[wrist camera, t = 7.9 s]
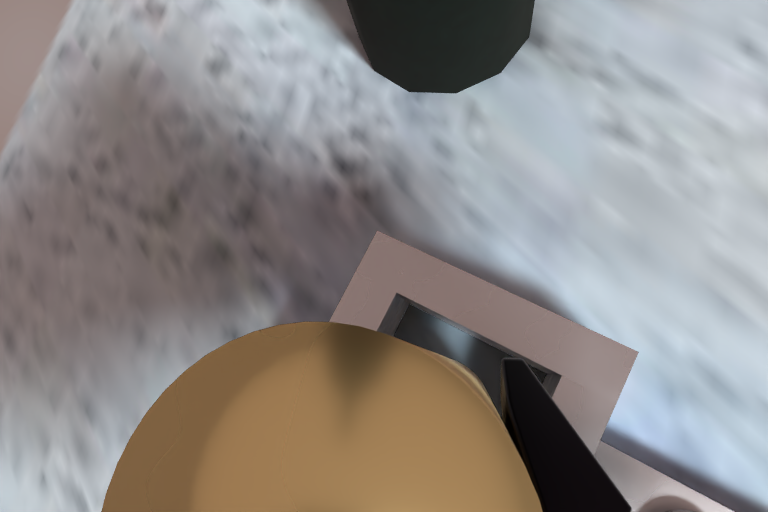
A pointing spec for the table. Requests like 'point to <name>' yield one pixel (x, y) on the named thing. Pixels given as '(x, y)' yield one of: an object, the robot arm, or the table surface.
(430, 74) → the wine bottle
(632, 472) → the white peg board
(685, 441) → the table surface
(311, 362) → the gold metal cylinder
